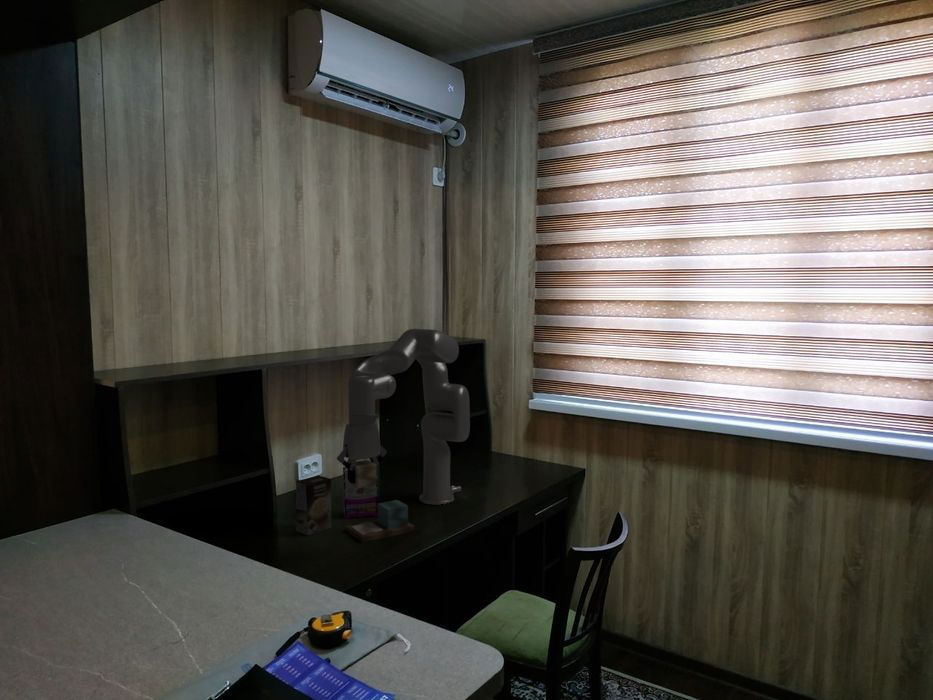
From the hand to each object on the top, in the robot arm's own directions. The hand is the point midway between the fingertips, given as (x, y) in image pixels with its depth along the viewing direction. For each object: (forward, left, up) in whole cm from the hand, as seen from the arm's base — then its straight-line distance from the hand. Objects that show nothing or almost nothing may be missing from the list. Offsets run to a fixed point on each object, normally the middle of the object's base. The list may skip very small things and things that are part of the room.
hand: (362, 480), depth 195 cm
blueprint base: (-11, -10, -20) cm, 25 cm away
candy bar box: (-12, -26, -21) cm, 35 cm away
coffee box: (+6, -22, -21) cm, 31 cm away
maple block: (0, 0, -1) cm, 1 cm away
